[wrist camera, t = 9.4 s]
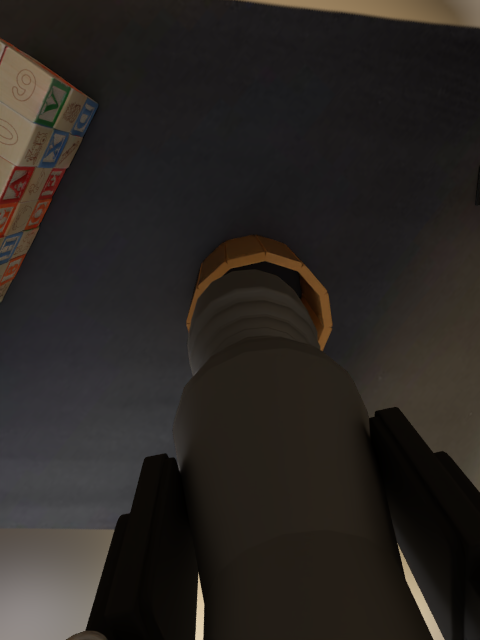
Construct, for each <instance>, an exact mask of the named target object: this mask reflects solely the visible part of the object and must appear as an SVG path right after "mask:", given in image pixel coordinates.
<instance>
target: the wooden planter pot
mask: <svg viewBox="0 0 480 640" xmlns="http://www.w3.org/2000/svg"><path fill="white" fill-rule="evenodd" d="M263 261H267V262H270V263H273V264H276V265H279V266H283V267H286V268H289V269H292V270H295V271H298V273H299V279H300V285H301V291H302V296H301V299H300V300H301V301H302V303H303V304H304V306H305V307H306V309H307V311H308V313H309V315H310V317H311V319H312V321H313V323H314V325H315V327H316V330H317V337H318V342H319V344H320V350H321V351H323V349H324V346H325V344H326V342H327V339H328V337H329V335H330V332H331V330H332V318H331V310H330V303H329V296H328V293H327V290H326V289H325V288H324V287H323V285H322V284H321V283H320V282H319V281H318V280H317V278H316V277H315V276H314V275H313V274H312V273H311V271H310V270H309V269H308V268H307V267H306V266H305V264H304V263H303V262H302V261H301V260H300V259H299V258H298V257H297V256H296V255H295V254H294V253H293V252H292V251H291V250H290V248H289V247H288V246H287V245H286V244H284V243H281V242H278V241H275V240H272V239H269V238H266V237H263V236H260V235H256V236H255V235H249V236H245V237H240V238H236V239H232V240H227V241H225V242H223V243H222V244H221V245H220V246H219V247H218V248H217V249H215V250H214V251H213V252H212V253H211V254H210V255H209V256H208V257H207V258H206V259H205V260H204V261H203V262H202V263H201V266H200V270H199V273H198V277H197V280H196V283H195V287H194V290H193V295H192V299H191V304H190V308H189V312H188V317H187V321H186V322H187V324H186V325H187V328H188V332H189V330H190V325H191V319H192V316H193V312H194V309H195V306H196V302H197V299H198V298H199V297H200V295H201V294H202V293H203V292H204V291H205V289H206V288H207V287H208V286H209V285H210V283H211V282H212V281H214V280H216V279H218V278H220V277H222V276H223V275H224V274H225V273H226V272H227V271H228V270H229V269H232V268H236V267H240V266H245V265H249V264H254V263H258V262H263Z"/></svg>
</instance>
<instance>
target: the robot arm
mask: <svg viewBox="0 0 480 640" xmlns="http://www.w3.org/2000/svg"><path fill="white" fill-rule="evenodd" d="M369 427H370V438H371V442H372V445H373V448H374V451H375V454H376V457H377V460H378V463H379V466H380V471H381V475H382V479H383V484H384V488H385V492H386V497H387V501H388V505H389V510H390V514H391V518H392V523H393V527H394V531H395V536H396V540H397V543H398V545H399V547H400V549H401V551H402V553H403V555H404V557H405V559H406V561H407V564H408V565H409V567H410V570H411V572H412V574H413V576H414V578H415V580H416V582H417V584H418V586H419V588H420V590H421V592H422V594H423V596H424V598H425V600H426V602H427V604H428V607H429V609H430V611H431V612H432V614H433V617H434V619H435V621H436V623H437V625H438V627H439V629H440V631H441V633H442V635H443V637H444V639H445V640H480V492H479V491H478V490H477V489H476V487H475V486H474V485H473V484H472V482H471V481H470V480H469V479H468V478H467V476H466V475H465V474H464V473H463V472H462V470H461V469H460V468H459V467H458V466H457V464H456V463H455V462H454V461H453V459H452V458H451V457H450V456H449V455H448V454H447V453H445V452H443V451H441V452H436V453H433V452H432V451H431V449H430V448H429V447H428V445H427V444H426V443H425V442H424V440H423V439H422V438H421V436H420V435H419V434H418V433H417V431H416V430H415V429H414V427H413V426H412V425H411V424H410V422H409V421H408V420H407V418H406V417H405V416H404V414H403V413H402V412H401V411H400V409H399V408H397V407H393V408H388V409H383V410H378V411H376V412H375V417H372V418H369ZM197 588H198V567H197V561H196V556H195V550H194V545H193V539H192V534H191V529H190V523H189V518H188V512H187V506H186V501H185V495H184V490H183V484H182V478H181V474H180V471H179V468H178V465H177V462H176V459H175V458H174V457H173V458H169V457H168V455H167V454H160V455H155V456H150V457H146V458H145V459H144V462H143V466H142V469H141V473H140V477H139V481H138V485H137V489H136V493H135V496H134V500H133V504H132V508H131V512H130V513H129V514H124V515H121V516H120V517H119V519H118V521H117V524H116V527H115V531H114V534H113V538H112V541H111V544H110V548H109V551H108V555H107V558H106V562H105V565H104V569H103V572H102V576H101V579H100V582H99V586H98V589H97V593H96V596H95V600H94V603H93V607H92V611H91V613H90V617H89V621H88V624H87V627H86V631H83V632H80V633H78V634H75V635H73V636H71V637H70V638H68V639H66V640H195V631H196V609H197Z"/></svg>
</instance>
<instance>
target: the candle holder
mask: <svg viewBox="0 0 480 640" xmlns="http://www.w3.org/2000/svg"><path fill="white" fill-rule="evenodd" d="M187 347H188V354H189V361H190V368H191V369H192V375H193V377H192V378H191V379H190V381H189V382H188V383H187V384H186V386H185V387H184V390H183V393H182V396H181V400H180V403H179V406H178V409H177V412H176V416H175V419H174V424H173V430H172V431H173V437H174V443H175V449H176V455H177V460H178V466H179V471H180V474H181V478H182V484H183V490H184V495H185V501H186V506H187V512H188V518H189V523H190V529H191V534H192V539H193V545H194V550H195V556H196V561H197V567H198V572H199V577H200V583H201V588H202V594H203V599H204V605H205V606H204V638H203V640H433V638H432V636H431V634H430V632H429V629H428V627H427V625H426V623H425V621H424V618H423V616H422V614H421V612H420V610H419V608H418V606H417V603H416V601H415V599H414V597H413V595H412V593H411V591H410V588H409V586H408V584H407V582H406V579H405V575H404V571H403V566H402V562H401V557H400V553H399V549H398V544H397V540H396V536H395V531H394V527H393V523H392V518H391V514H390V510H389V505H388V501H387V497H386V492H385V488H384V484H383V479H382V475H381V471H380V466H379V463H378V460H377V457H376V454H375V451H374V448H373V445H372V442H371V438H370V427H369V416H368V412H367V409H366V407H365V405H364V403H363V401H362V398H361V396H360V394H359V392H358V390H357V388H356V385H355V383H354V381H353V380H352V378H351V377H350V375H349V374H348V372H347V371H346V370H345V369H343V368H342V367H341V366H340V365H339V364H337V363H336V362H335V361H334V360H332V359H331V358H330V357H329V356H327V355H326V354H325V353H324V352H323V351H321V350H320V344H319V342H318V337H317V330H316V327H315V325H314V323H313V321H312V319H311V317H310V315H309V313H308V311H307V309H306V307H305V306H304V304H303V303H302V301H301V300H300V298H299V297H298V295H297V294H296V292H295V291H294V290H293V289H292V288H291V287H290V286H289V285H287V284H286V283H285V282H284V281H283V280H282V279H280V278H279V277H278V276H276V275H273V274H270V273H267V272H263V271H260V270H257V269H251V270H240V271H232V272H230V273H228V274H226V275H224V276H222V277H220V278H218V279H216V280H214V281H212V282H211V283H210V285H209V286H208V287H207V288H206V289H205V291H204V292H203V293H202V294H201V295H200V297H199V298H198V299H197V302H196V306H195V309H194V312H193V316H192V319H191V325H190V330H189V336H188V341H187Z"/></svg>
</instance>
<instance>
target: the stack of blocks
mask: <svg viewBox="0 0 480 640" xmlns="http://www.w3.org/2000/svg"><path fill="white" fill-rule="evenodd" d="M98 105H99V104H98V103H97V102H95V101H94V100H92V99H91V98H90V97H88V96H87V95H85V94H84V93H82V92H81V91H80V90H78V89H77V88H75V87H74V86H72V85H71V84H70V83H68V82H67V81H65V80H64V79H63V78H62V77H60V76H59V75H57V74H56V73H54V72H53V71H52V70H50V69H49V68H47V67H46V66H44V65H43V64H41V63H40V62H38V61H37V60H35V59H34V58H32V57H31V56H29V55H28V54H26V53H24V52H23V51H21V50H19V49H17V48H16V47H14V46H13V45H12V44H10V43H8V42H6V41H5V40H3V39H1V38H0V302H1V301H2V299H3V297H4V295H5V293H6V291H7V289H8V287H9V286H10V284H11V282H12V279H14V278H15V276H16V274H17V272H18V270H19V268H20V266H21V264H22V262H23V260H24V258H25V256H26V253H27V251H28V250H29V248H30V246H31V244H32V242H33V240H34V238H35V236H36V234H37V232H38V230H39V224H40V222H41V221H42V218H43V216H44V214H45V212H46V210H47V208H48V206H49V204H50V202H51V200H52V196H53V195H54V193H55V191H56V189H57V187H58V185H59V183H60V180H61V178H62V177H63V174H64V172H65V170H66V168H68V167H69V165H70V163H71V161H72V159H73V157H74V155H75V153H76V151H77V149H78V147H79V145H80V143H81V141H82V139H83V136H84V134H85V132H86V130H87V128H88V126H89V124H90V122H91V120H92V118H93V116H94V114H95V112H96V110H97V108H98Z"/></svg>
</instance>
